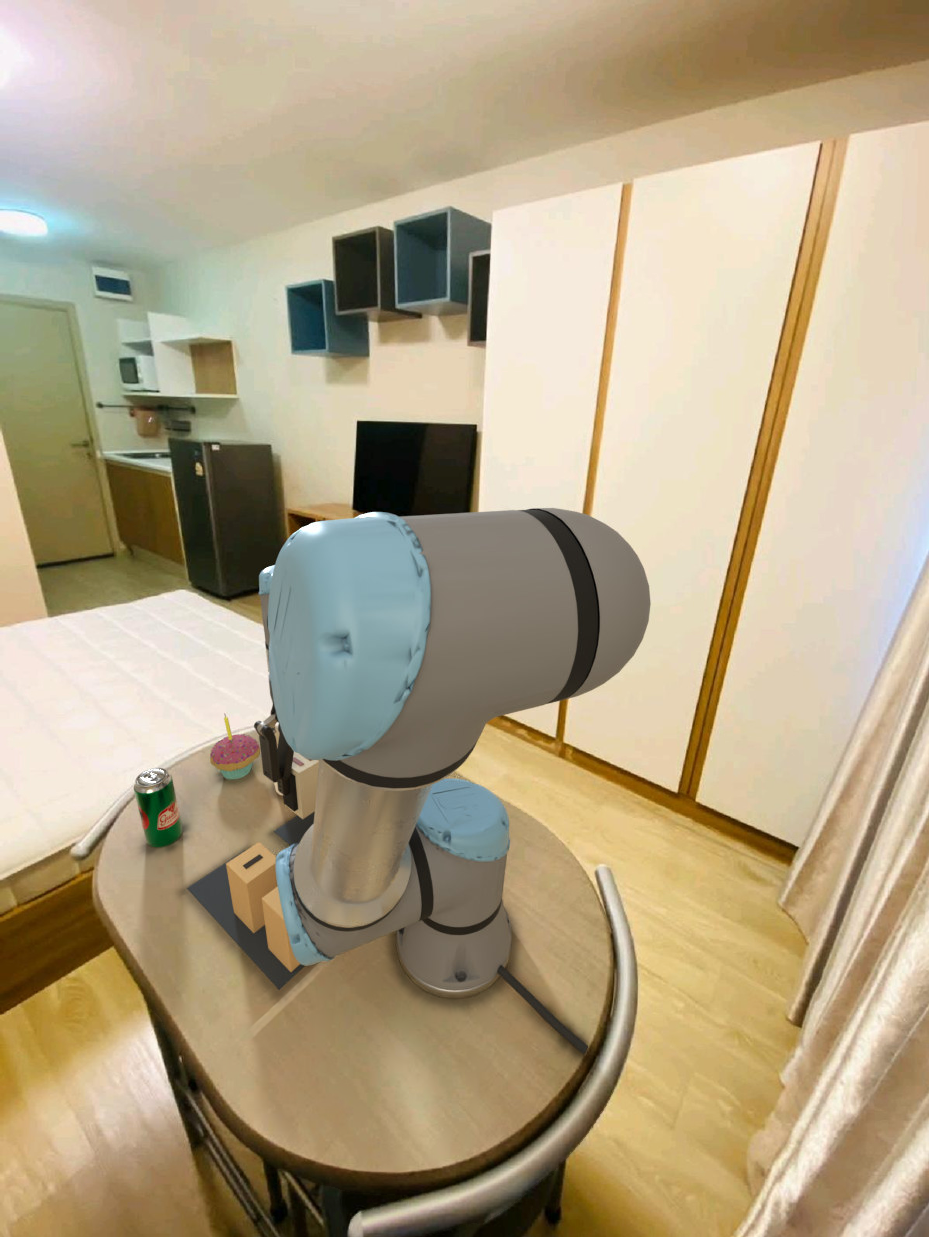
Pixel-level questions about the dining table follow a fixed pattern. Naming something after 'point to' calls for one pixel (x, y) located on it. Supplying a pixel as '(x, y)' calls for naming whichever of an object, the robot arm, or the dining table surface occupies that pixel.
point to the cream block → (305, 784)
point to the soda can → (158, 807)
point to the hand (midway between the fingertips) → (305, 796)
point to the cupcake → (234, 754)
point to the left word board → (233, 926)
